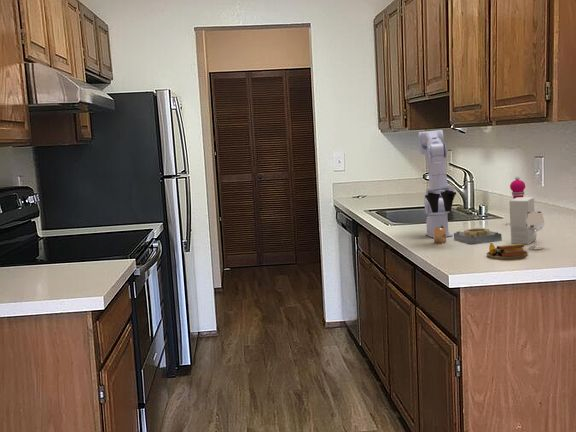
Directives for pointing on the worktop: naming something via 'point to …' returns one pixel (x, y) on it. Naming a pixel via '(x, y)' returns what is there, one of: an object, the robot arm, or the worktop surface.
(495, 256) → the toy sandwich meal
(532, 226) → the wineglass
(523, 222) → the skincare box
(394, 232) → the worktop surface
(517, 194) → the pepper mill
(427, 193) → the robot arm
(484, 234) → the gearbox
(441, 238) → the copper spout can
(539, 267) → the worktop surface
